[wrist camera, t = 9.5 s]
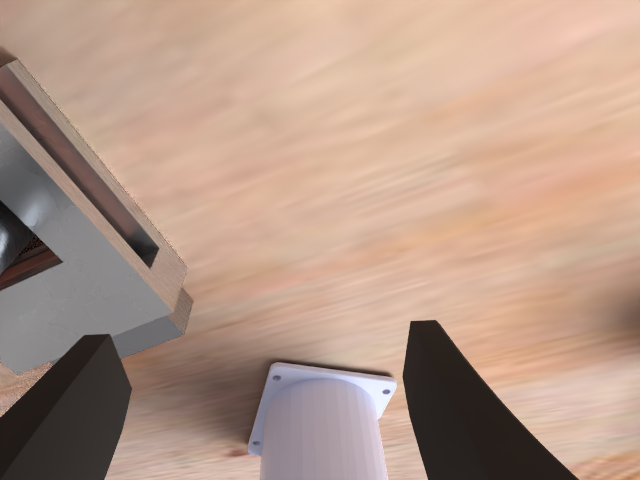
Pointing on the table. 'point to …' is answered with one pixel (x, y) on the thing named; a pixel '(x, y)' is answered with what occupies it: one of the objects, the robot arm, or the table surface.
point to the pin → (11, 236)
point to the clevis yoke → (76, 242)
